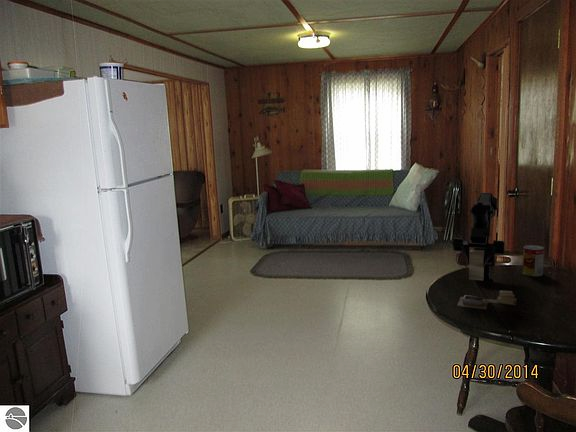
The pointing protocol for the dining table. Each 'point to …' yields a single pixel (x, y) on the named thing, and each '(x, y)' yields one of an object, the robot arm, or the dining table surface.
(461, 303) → the rack
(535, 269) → the canned food
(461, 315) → the dining table surface
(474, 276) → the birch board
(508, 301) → the lower offcut
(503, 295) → the upper offcut
